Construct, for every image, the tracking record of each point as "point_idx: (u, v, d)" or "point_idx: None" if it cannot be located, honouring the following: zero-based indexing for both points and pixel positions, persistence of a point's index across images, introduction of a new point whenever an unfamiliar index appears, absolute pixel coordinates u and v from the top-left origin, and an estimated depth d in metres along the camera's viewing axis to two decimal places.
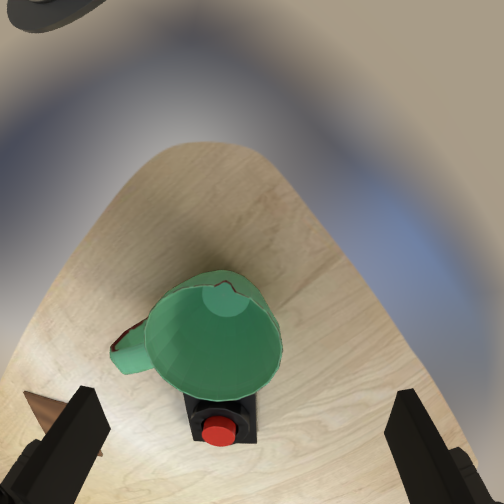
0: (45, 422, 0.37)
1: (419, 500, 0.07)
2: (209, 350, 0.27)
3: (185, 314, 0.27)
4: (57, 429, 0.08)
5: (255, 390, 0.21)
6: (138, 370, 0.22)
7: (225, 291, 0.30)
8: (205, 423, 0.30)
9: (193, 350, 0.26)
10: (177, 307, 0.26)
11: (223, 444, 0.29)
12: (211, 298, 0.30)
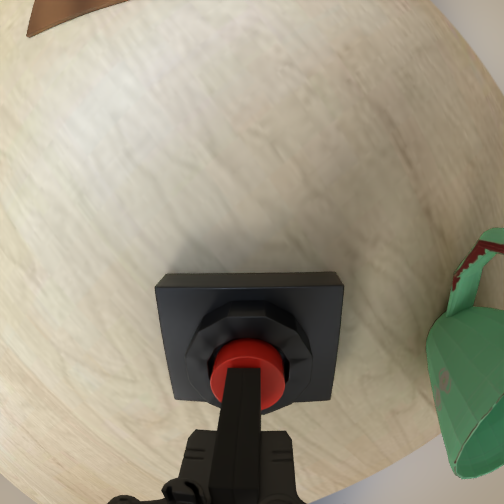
0: None
1: None
2: None
3: None
4: (229, 412, 0.10)
5: (457, 473, 0.10)
6: None
7: None
8: (270, 351, 0.14)
9: None
10: None
11: (220, 393, 0.14)
12: None
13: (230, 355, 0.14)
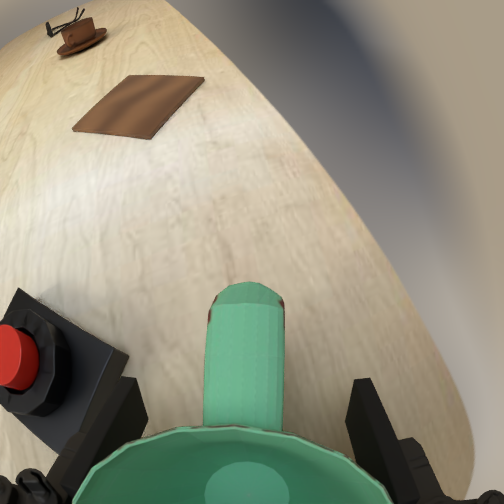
0: (152, 83, 0.33)
1: None
2: (173, 469, 0.10)
3: (257, 451, 0.12)
4: (103, 419, 0.09)
5: None
6: (215, 357, 0.08)
7: (254, 500, 0.13)
8: (31, 347, 0.13)
9: None
10: (287, 456, 0.11)
11: None
12: (250, 475, 0.14)
13: None
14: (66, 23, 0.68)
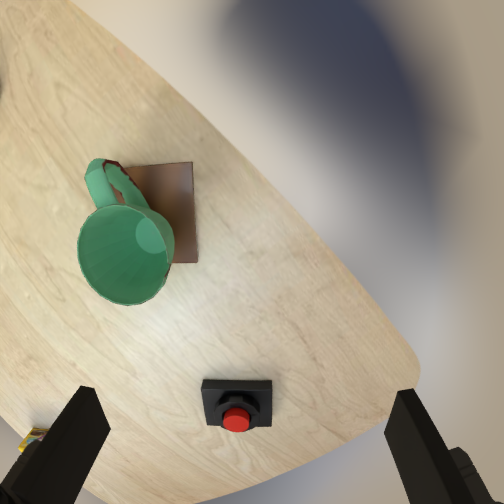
0: (141, 183, 0.35)
1: (419, 500, 0.07)
2: (110, 233, 0.32)
3: (136, 211, 0.32)
4: (57, 429, 0.08)
5: (92, 286, 0.28)
6: (90, 191, 0.26)
7: (156, 234, 0.36)
8: (243, 412, 0.39)
9: (109, 222, 0.31)
10: None
11: (226, 426, 0.38)
12: (149, 223, 0.36)
13: (230, 414, 0.38)
14: None
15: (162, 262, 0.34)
